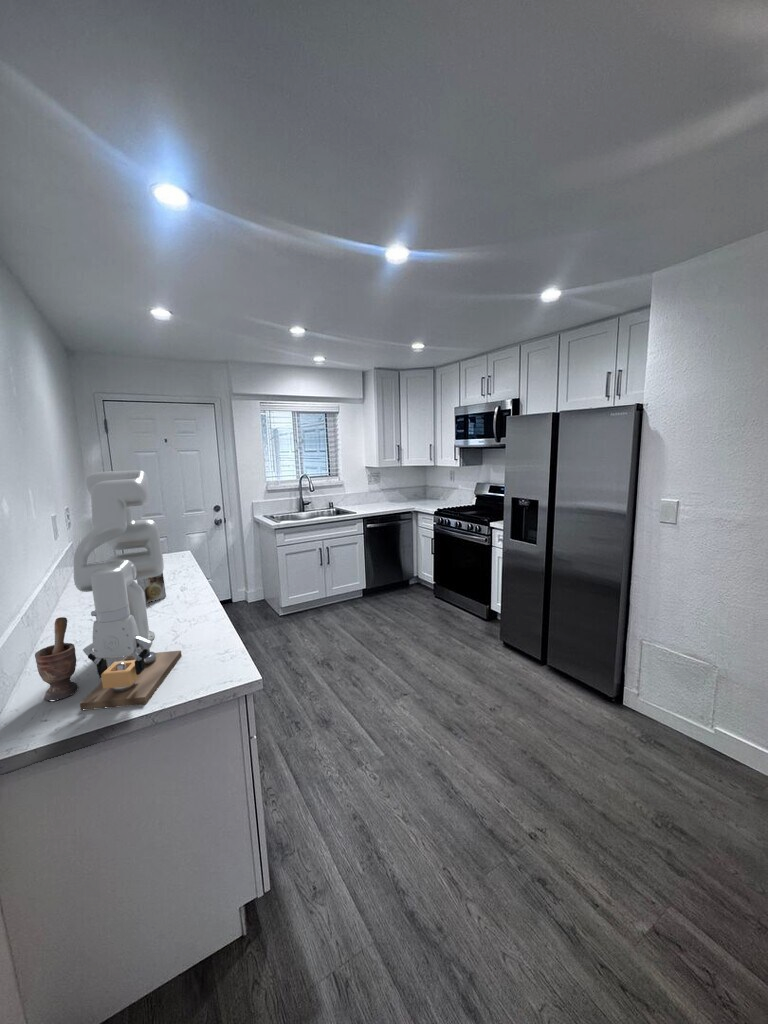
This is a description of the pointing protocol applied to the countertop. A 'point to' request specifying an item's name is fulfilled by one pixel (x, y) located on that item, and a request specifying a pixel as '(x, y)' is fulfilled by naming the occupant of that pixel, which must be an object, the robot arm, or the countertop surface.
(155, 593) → the coffee box
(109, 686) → the collar
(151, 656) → the shiny metal knob
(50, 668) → the mortar and pestle
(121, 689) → the silver round flared piece
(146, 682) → the board
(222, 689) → the countertop surface
